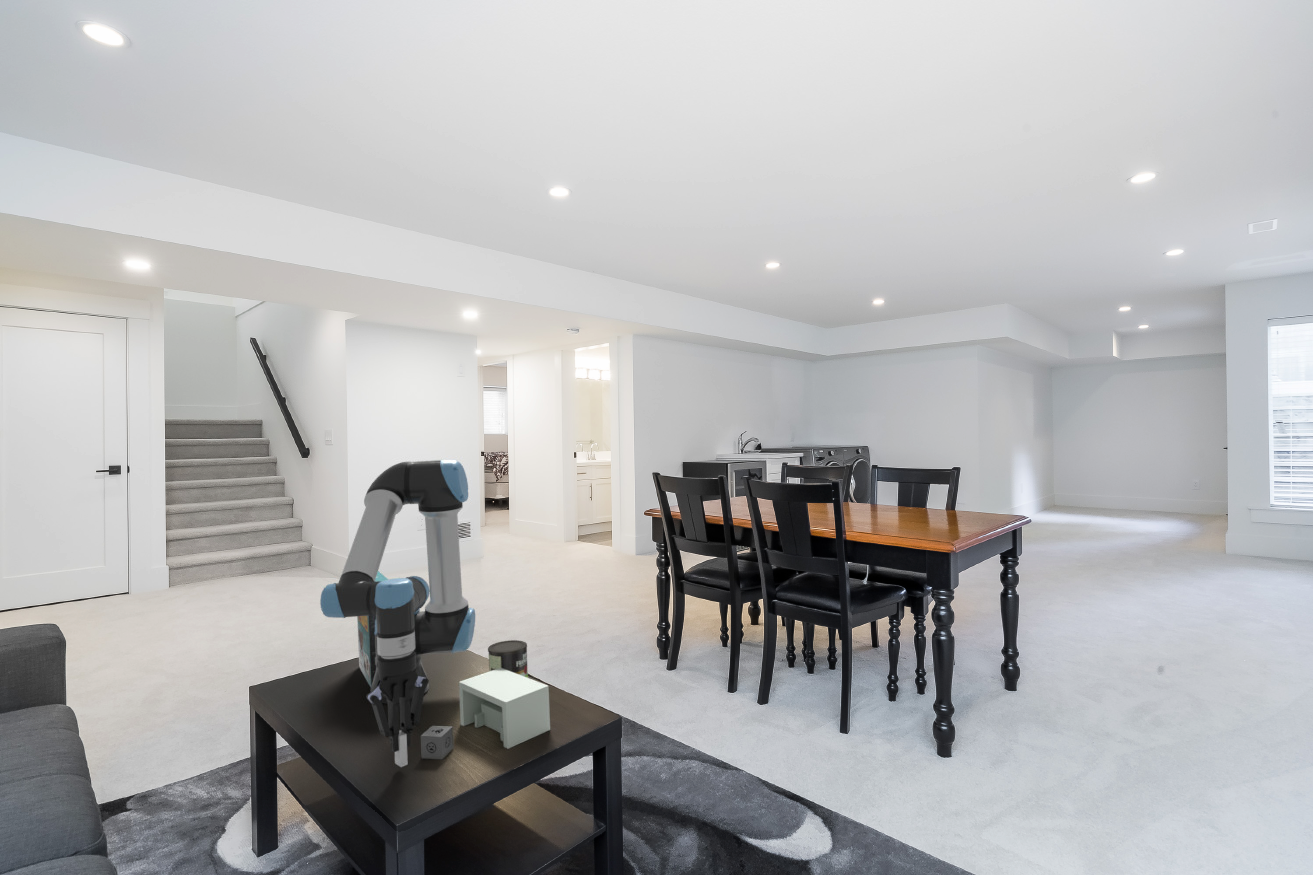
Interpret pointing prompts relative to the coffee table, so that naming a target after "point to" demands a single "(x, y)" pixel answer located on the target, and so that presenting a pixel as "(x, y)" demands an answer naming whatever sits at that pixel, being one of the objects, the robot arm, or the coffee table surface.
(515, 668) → the coffee can
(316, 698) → the coffee table surface
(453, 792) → the coffee table surface
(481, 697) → the shelf
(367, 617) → the cake mix box
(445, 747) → the dice cube
